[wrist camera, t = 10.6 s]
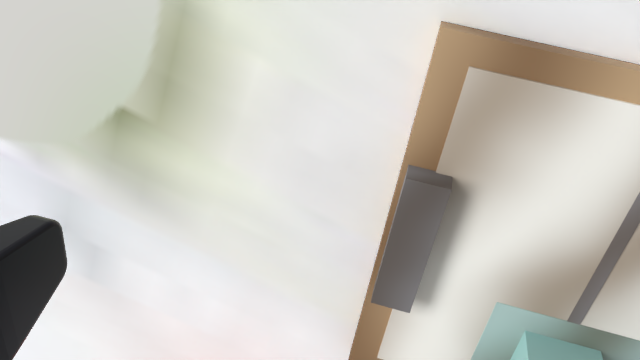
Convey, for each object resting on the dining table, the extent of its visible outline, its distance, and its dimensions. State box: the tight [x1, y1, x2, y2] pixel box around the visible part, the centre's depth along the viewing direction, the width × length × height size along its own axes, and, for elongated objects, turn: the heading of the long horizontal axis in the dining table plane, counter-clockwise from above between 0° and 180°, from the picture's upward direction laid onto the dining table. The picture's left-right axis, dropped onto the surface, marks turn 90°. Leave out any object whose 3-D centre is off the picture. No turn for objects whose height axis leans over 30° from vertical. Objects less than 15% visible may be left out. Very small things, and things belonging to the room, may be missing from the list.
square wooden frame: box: [349, 21, 640, 360], centre depth 21 cm, size 16×16×2 cm
